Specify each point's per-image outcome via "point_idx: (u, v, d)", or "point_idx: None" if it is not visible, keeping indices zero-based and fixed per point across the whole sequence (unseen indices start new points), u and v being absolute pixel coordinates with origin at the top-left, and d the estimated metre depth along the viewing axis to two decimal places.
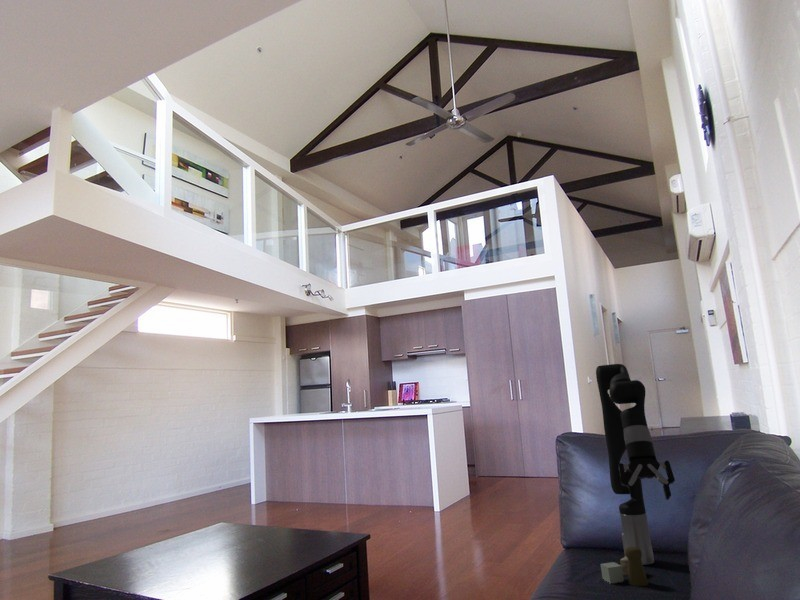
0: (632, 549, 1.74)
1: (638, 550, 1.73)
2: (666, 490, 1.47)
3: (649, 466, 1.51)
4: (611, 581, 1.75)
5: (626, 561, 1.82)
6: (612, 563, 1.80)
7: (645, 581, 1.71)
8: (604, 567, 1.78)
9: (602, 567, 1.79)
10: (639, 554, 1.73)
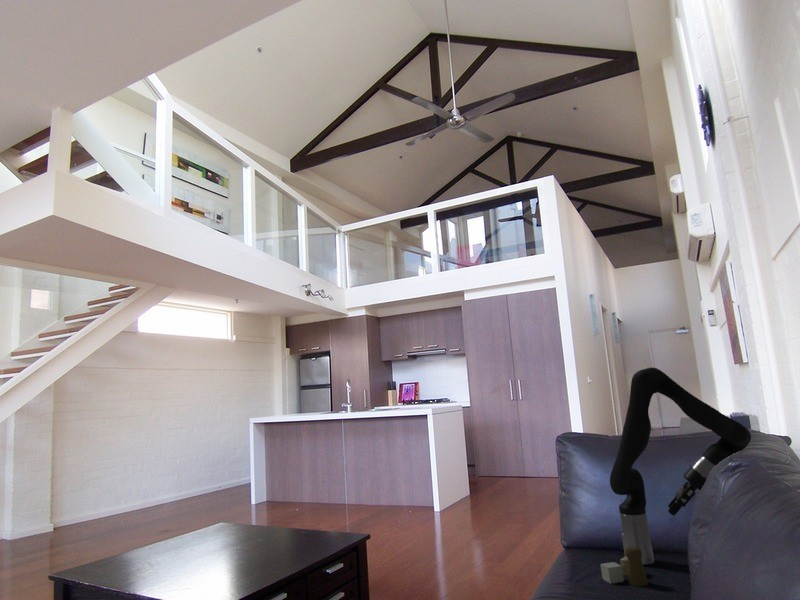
0: (632, 549, 1.74)
1: (638, 550, 1.73)
2: None
3: None
4: (611, 581, 1.75)
5: (626, 561, 1.82)
6: (612, 563, 1.80)
7: (645, 581, 1.71)
8: (604, 567, 1.78)
9: (602, 567, 1.79)
10: (639, 554, 1.73)
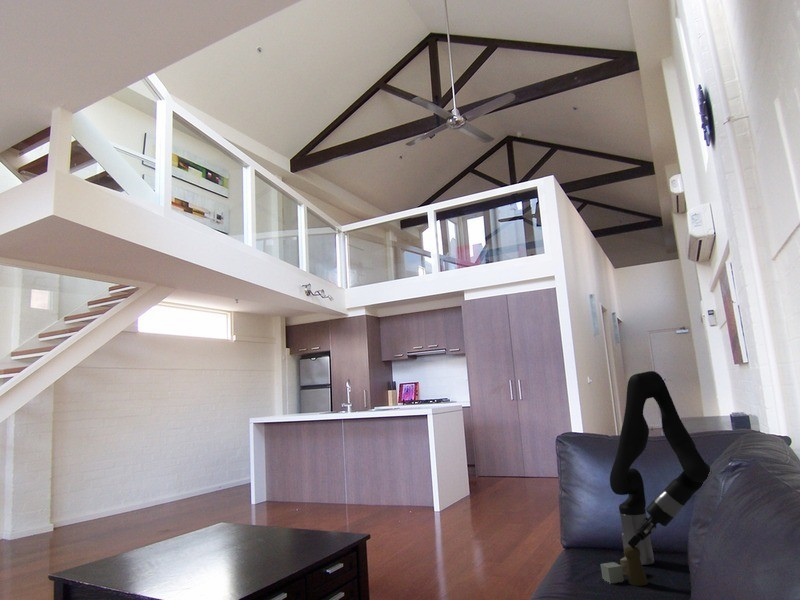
0: (630, 549, 1.74)
1: (636, 549, 1.74)
2: (637, 543, 1.75)
3: None
4: (611, 581, 1.75)
5: (626, 561, 1.82)
6: (612, 563, 1.80)
7: (645, 580, 1.71)
8: (604, 567, 1.78)
9: (602, 567, 1.79)
10: (638, 553, 1.73)
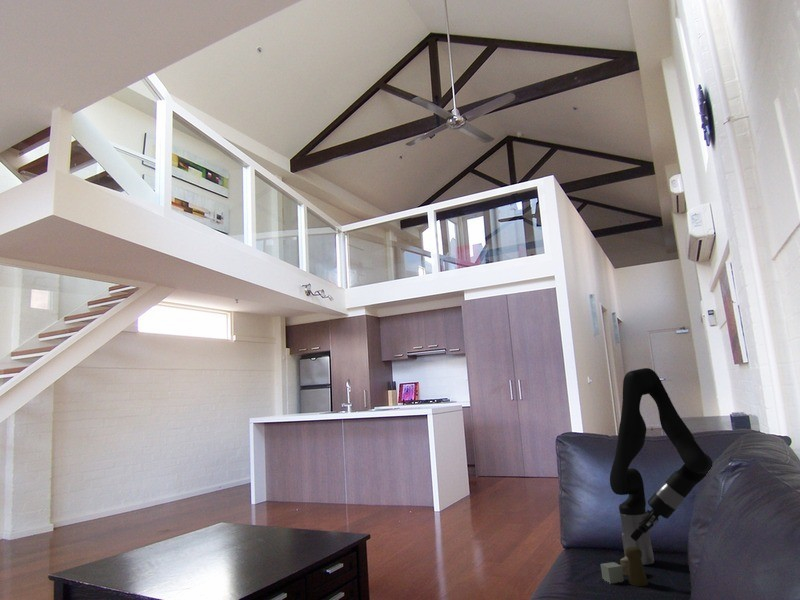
0: (632, 549, 1.74)
1: (638, 550, 1.73)
2: (640, 536, 1.75)
3: None
4: (611, 581, 1.75)
5: (626, 561, 1.82)
6: (612, 563, 1.80)
7: (645, 581, 1.71)
8: (604, 567, 1.78)
9: (602, 567, 1.79)
10: (639, 554, 1.73)
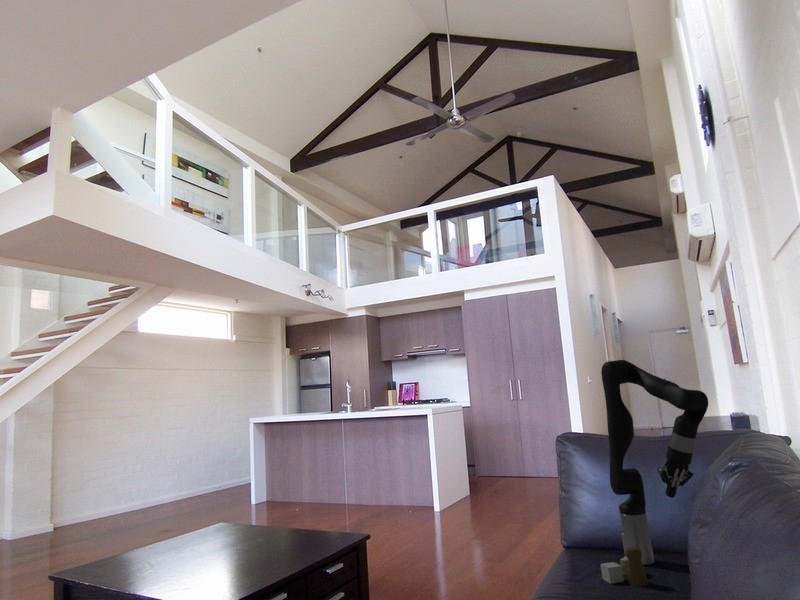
0: (632, 549, 1.74)
1: (638, 550, 1.73)
2: (674, 492, 1.76)
3: (683, 471, 1.74)
4: (611, 581, 1.75)
5: (626, 561, 1.82)
6: (612, 563, 1.80)
7: (645, 581, 1.71)
8: (604, 567, 1.78)
9: (602, 567, 1.79)
10: (639, 554, 1.73)
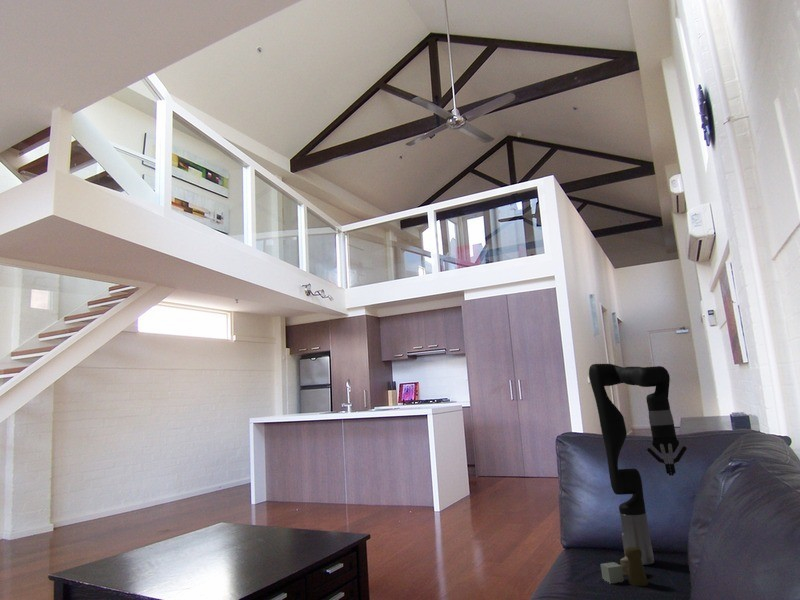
0: (632, 549, 1.74)
1: (638, 550, 1.73)
2: (671, 469, 1.78)
3: (669, 445, 1.79)
4: (611, 581, 1.75)
5: (626, 561, 1.82)
6: (612, 563, 1.80)
7: (645, 581, 1.71)
8: (604, 567, 1.78)
9: (602, 567, 1.79)
10: (639, 554, 1.73)
